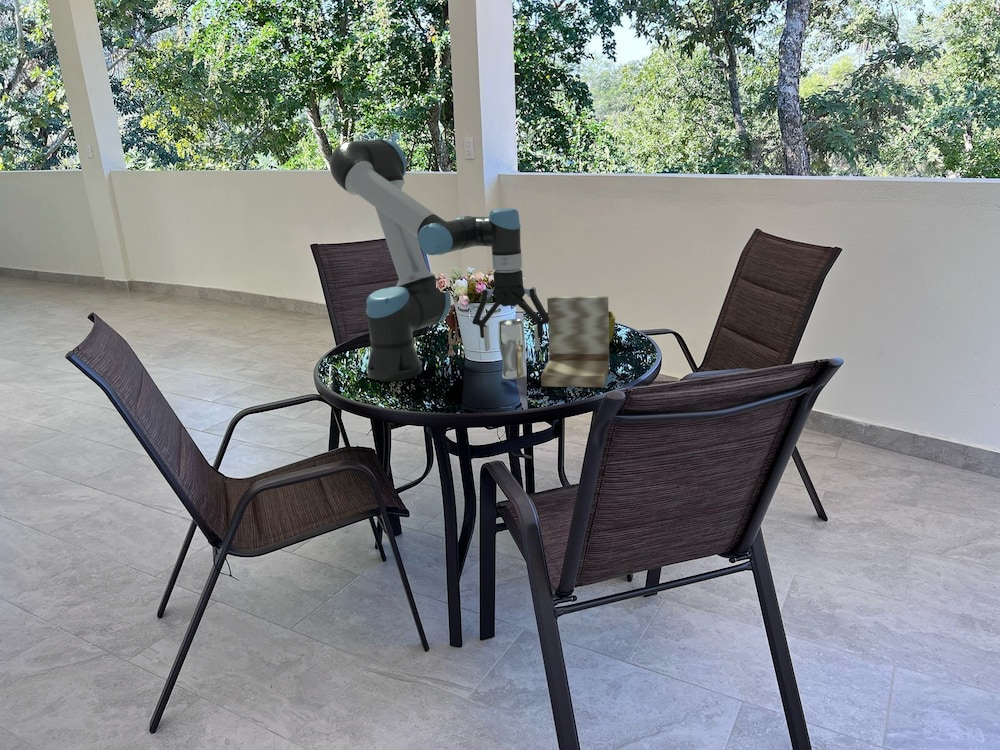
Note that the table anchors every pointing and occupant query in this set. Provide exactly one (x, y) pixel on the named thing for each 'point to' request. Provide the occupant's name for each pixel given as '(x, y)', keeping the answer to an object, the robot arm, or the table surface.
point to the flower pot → (611, 325)
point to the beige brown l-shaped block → (577, 342)
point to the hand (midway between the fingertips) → (512, 349)
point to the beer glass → (511, 348)
